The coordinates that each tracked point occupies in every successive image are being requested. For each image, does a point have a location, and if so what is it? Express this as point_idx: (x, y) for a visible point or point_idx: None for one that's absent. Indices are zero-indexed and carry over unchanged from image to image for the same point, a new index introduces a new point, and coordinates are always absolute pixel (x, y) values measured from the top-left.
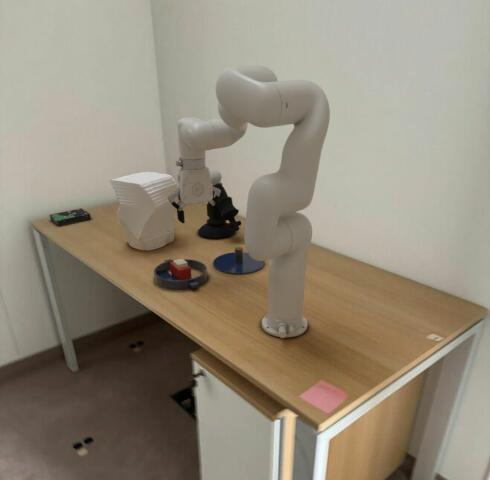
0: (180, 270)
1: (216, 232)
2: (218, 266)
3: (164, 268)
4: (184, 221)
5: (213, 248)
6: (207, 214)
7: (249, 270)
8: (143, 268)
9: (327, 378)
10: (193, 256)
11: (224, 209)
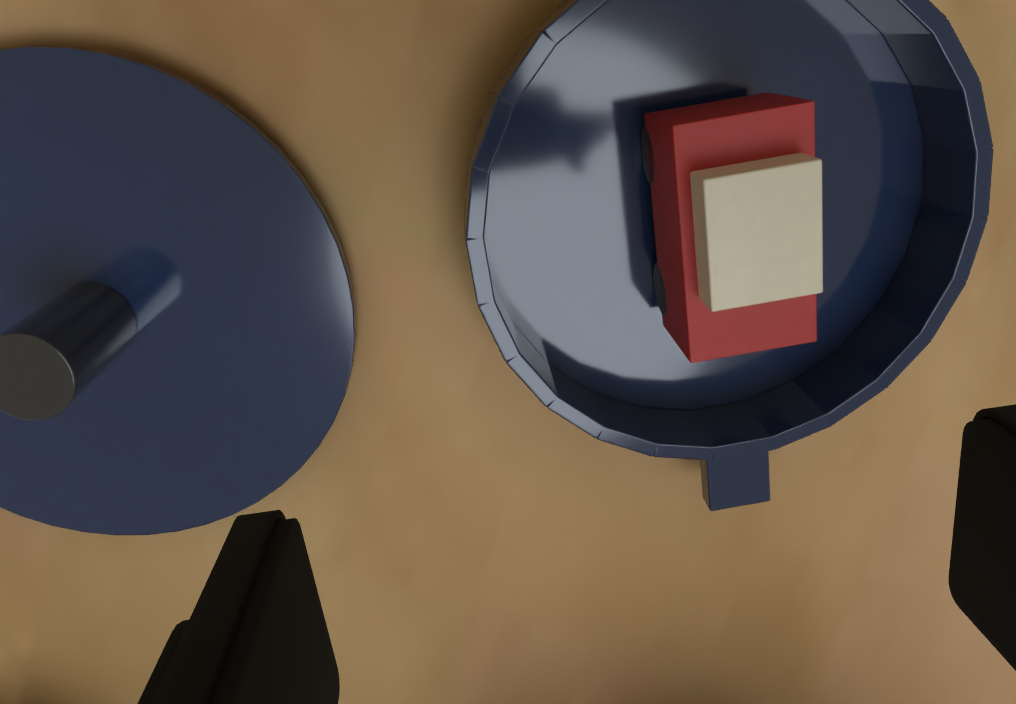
0: (794, 103)
1: None
2: (318, 291)
3: (797, 394)
4: (989, 431)
5: None
6: (331, 692)
7: (16, 81)
8: (898, 506)
9: None
10: (465, 595)
11: None
